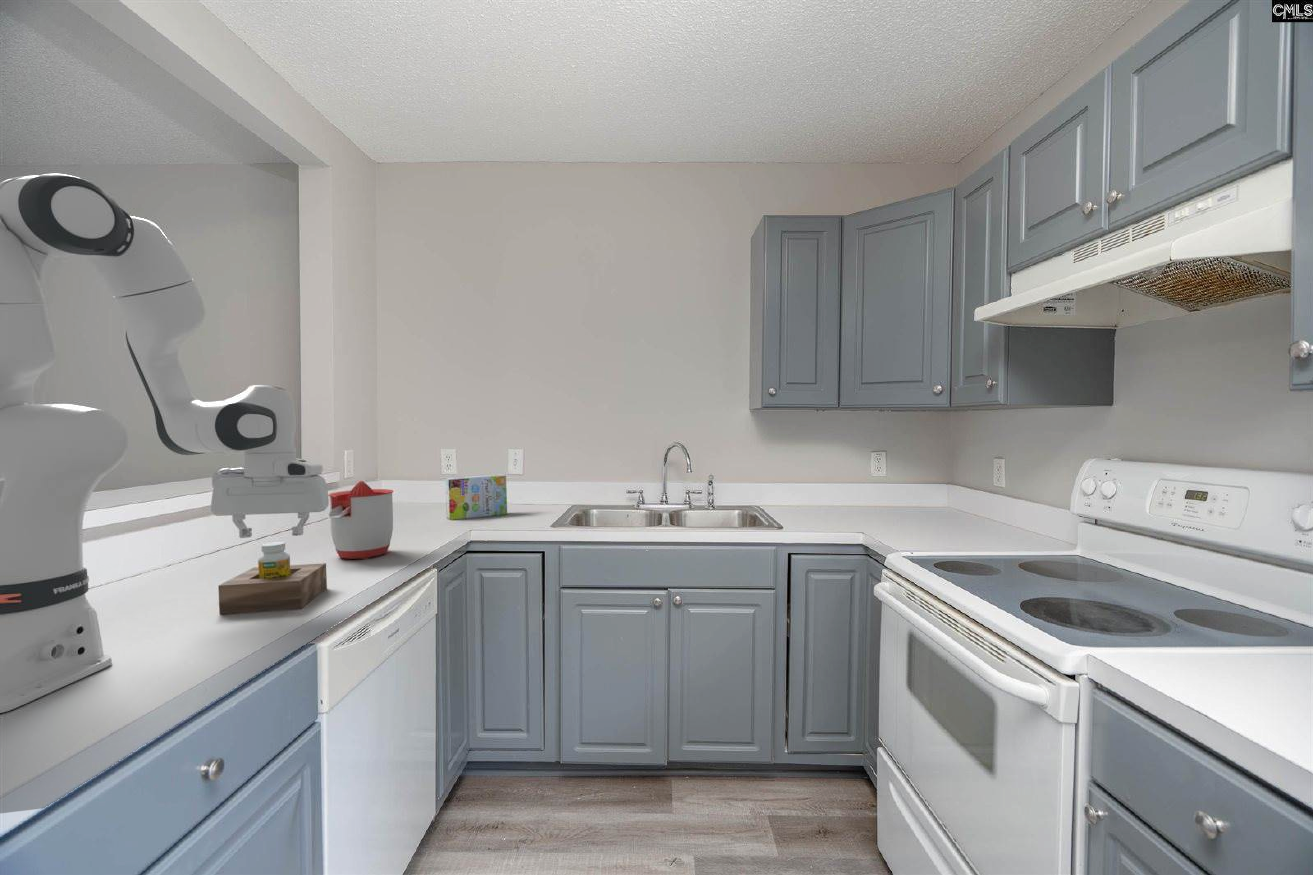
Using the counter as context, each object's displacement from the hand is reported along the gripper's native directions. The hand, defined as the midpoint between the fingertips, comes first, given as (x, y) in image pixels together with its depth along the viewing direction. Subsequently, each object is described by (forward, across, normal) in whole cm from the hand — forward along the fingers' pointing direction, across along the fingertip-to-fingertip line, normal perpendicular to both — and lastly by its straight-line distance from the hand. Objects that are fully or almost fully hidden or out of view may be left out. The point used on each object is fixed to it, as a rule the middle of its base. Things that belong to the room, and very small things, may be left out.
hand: (271, 536), depth 119 cm
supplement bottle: (+11, 0, +1) cm, 11 cm away
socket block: (+13, 0, +1) cm, 13 cm away
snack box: (+11, +30, +99) cm, 104 cm away
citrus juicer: (+12, +6, +40) cm, 42 cm away
